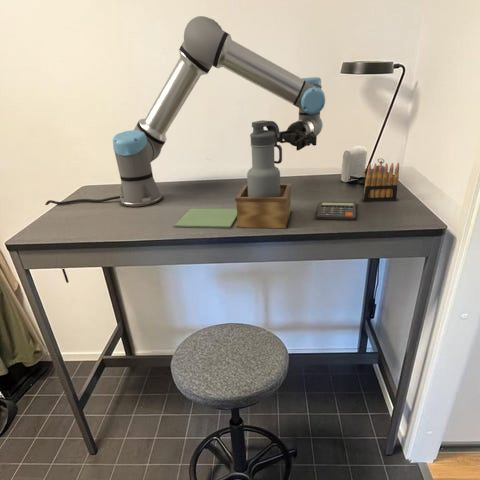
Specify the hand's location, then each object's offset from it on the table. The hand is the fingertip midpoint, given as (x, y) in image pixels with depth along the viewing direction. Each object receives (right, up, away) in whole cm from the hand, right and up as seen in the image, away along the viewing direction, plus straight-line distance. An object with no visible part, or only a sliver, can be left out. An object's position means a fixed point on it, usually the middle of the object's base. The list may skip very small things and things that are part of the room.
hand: (276, 145), depth 121 cm
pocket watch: (+42, -3, +27) cm, 50 cm away
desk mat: (-21, -20, +8) cm, 31 cm away
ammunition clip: (+36, -13, +13) cm, 41 cm away
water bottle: (-3, -22, +4) cm, 22 cm away
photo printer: (+33, +2, +36) cm, 49 cm away
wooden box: (-3, -22, +4) cm, 22 cm away
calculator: (+20, -19, +6) cm, 28 cm away
